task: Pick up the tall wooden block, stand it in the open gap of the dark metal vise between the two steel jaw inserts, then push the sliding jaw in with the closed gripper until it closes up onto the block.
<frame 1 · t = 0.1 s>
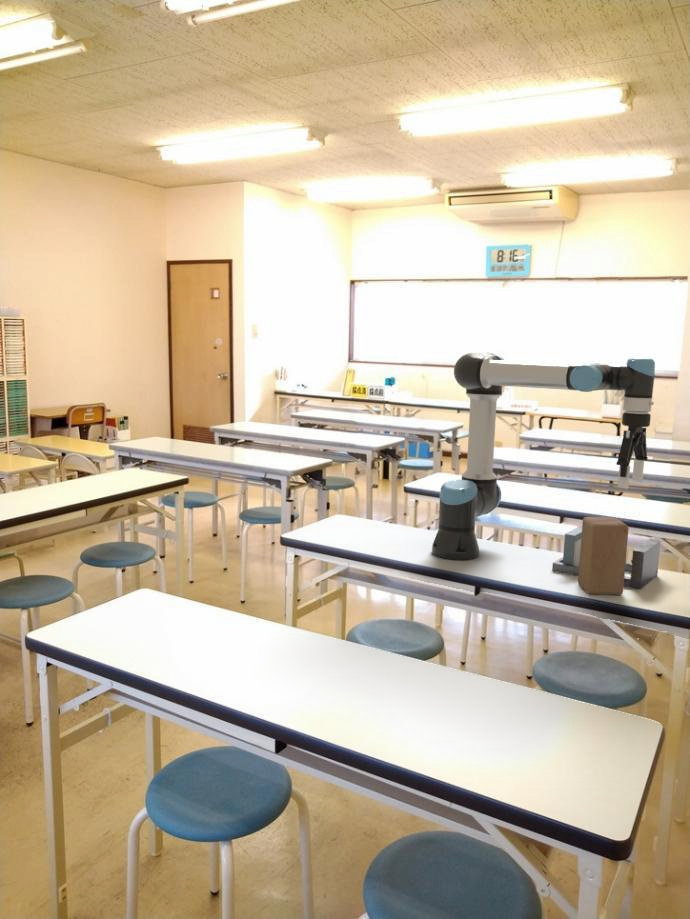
hand: (630, 484, 210), 28 cm above the table, fingers open, 13 cm apart
vise bed: (604, 573, 218), on the table
wooden block: (599, 590, 203), on the table
jaw: (576, 548, 222), point 6 cm above the table, slide at 0.0 cm
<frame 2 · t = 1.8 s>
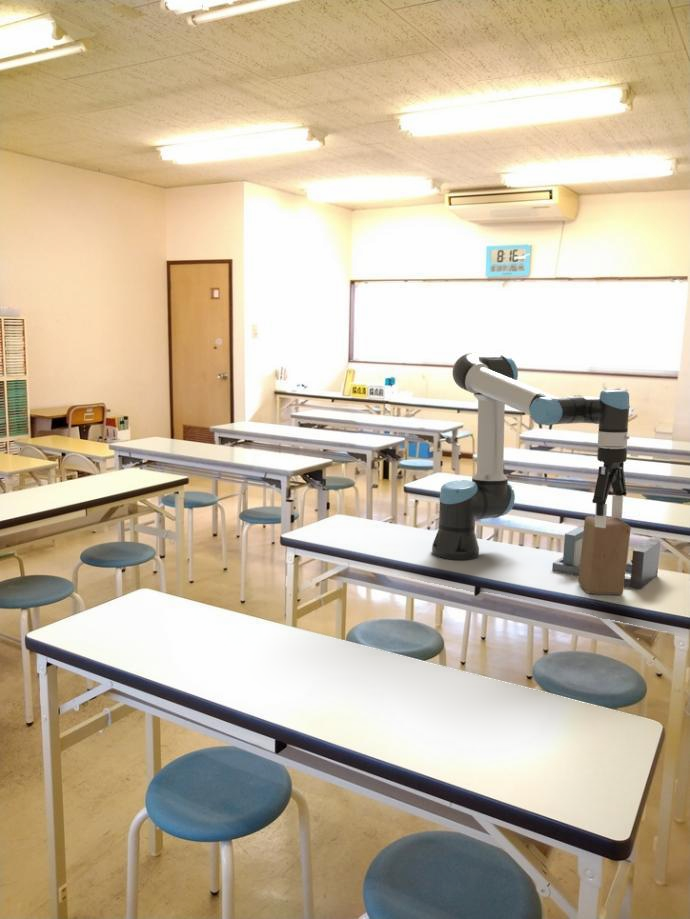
hand: (608, 523, 199), 19 cm above the table, fingers open, 13 cm apart
wooden block: (599, 590, 203), on the table, touching gripper
everything else where it was.
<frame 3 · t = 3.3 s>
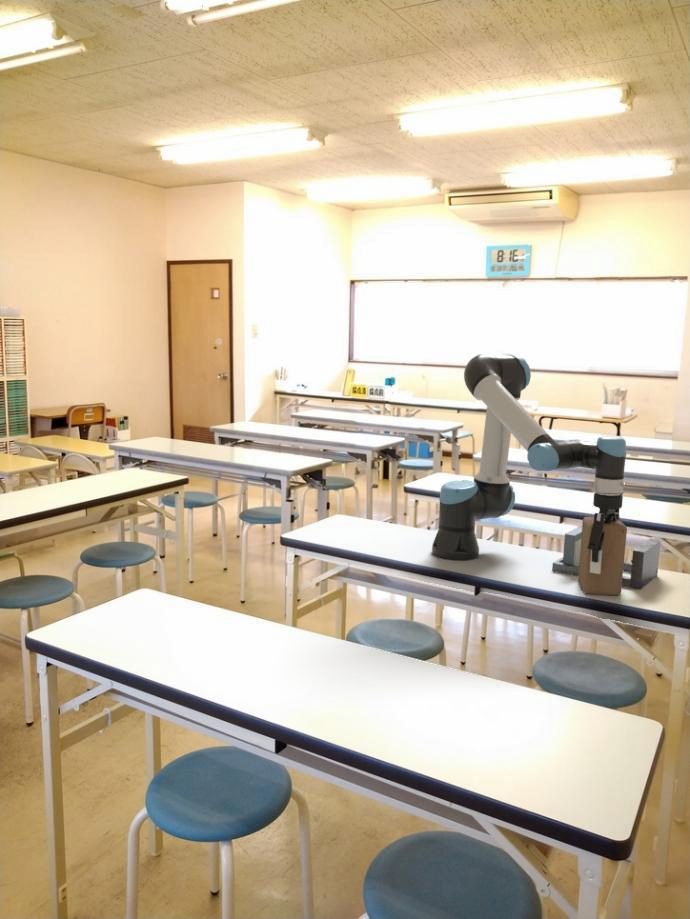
hand: (603, 567, 201), 7 cm above the table, fingers open, 13 cm apart
wooden block: (598, 590, 203), on the table, touching hand
everything else where it was.
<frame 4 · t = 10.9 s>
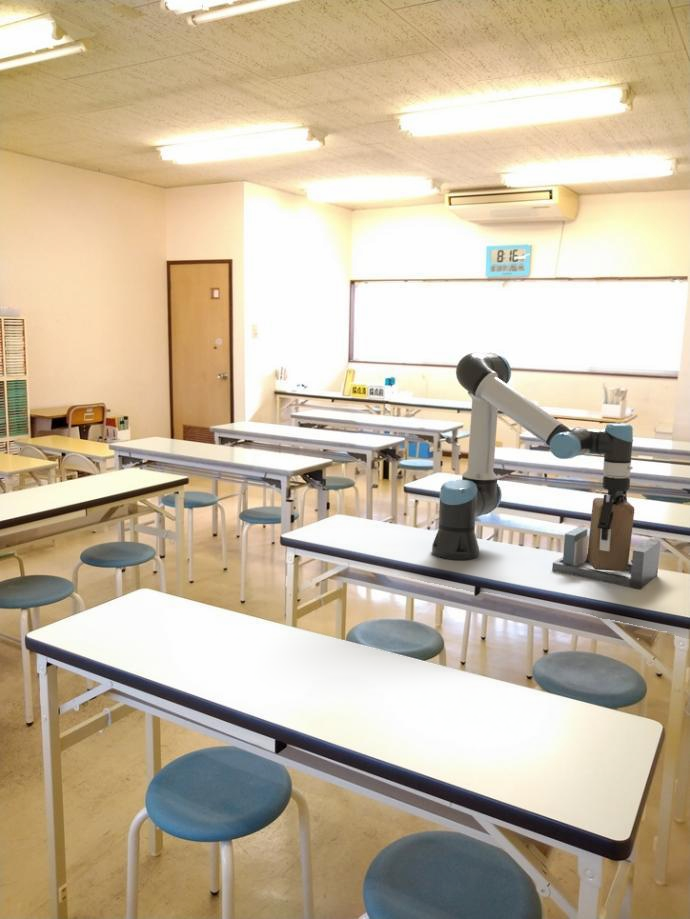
hand: (612, 546, 215), 9 cm above the table, fingers open, 13 cm apart
wooden block: (606, 566, 217), point 2 cm above the table, touching gripper, hand, vise bed
everything else where it was.
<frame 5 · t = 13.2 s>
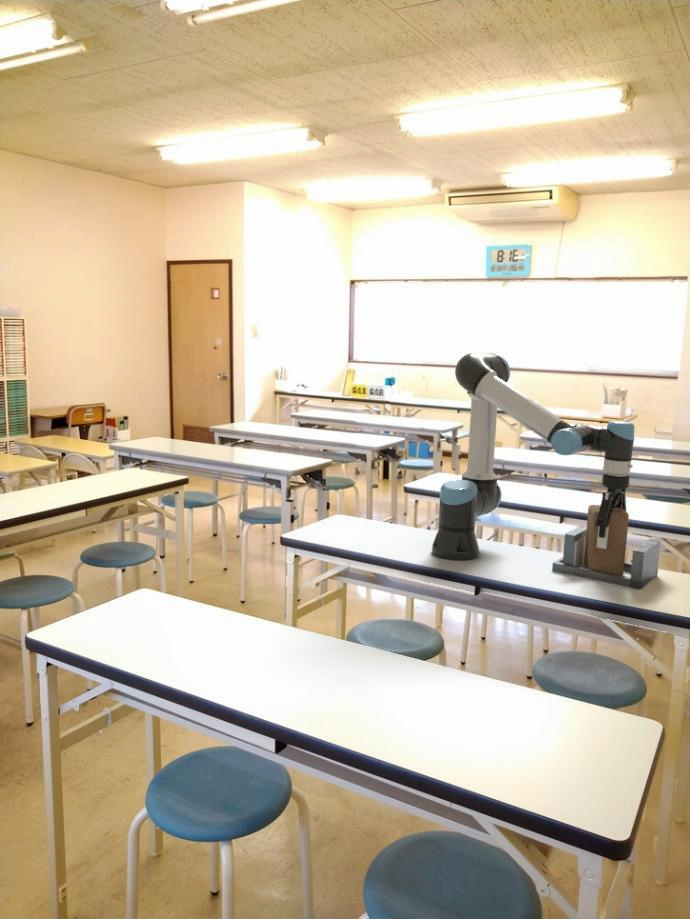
hand: (609, 543, 216), 9 cm above the table, fingers open, 13 cm apart
wooden block: (602, 573, 218), resting in vise bed
everything else where it was.
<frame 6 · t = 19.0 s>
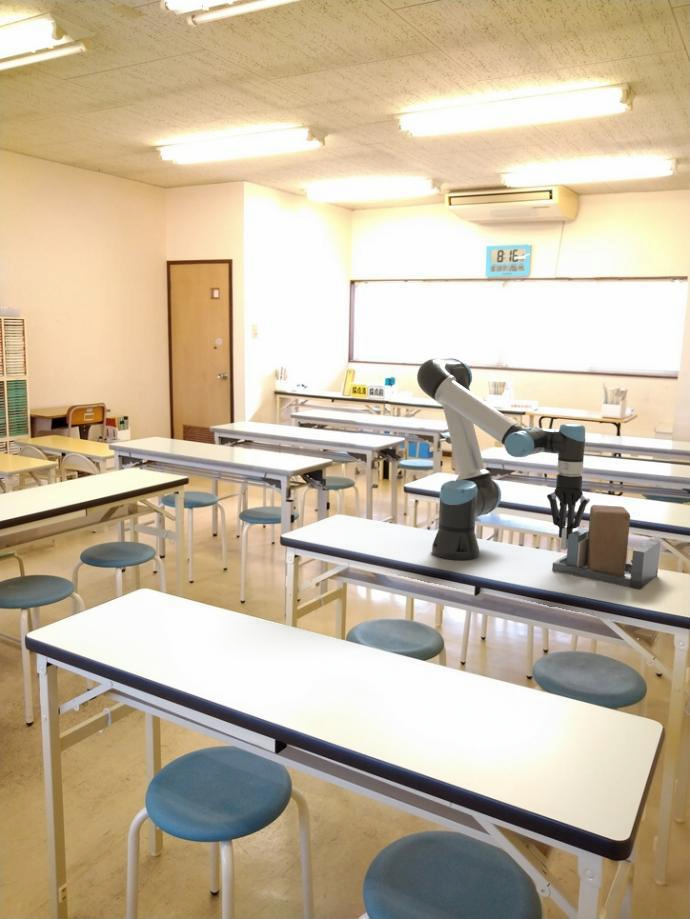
hand: (564, 548, 225), 5 cm above the table, fingers closed
wooden block: (604, 573, 218), resting in vise bed, touching jaw
jaw: (579, 549, 222), point 6 cm above the table, slide at 1.1 cm, touching gripper, wooden block
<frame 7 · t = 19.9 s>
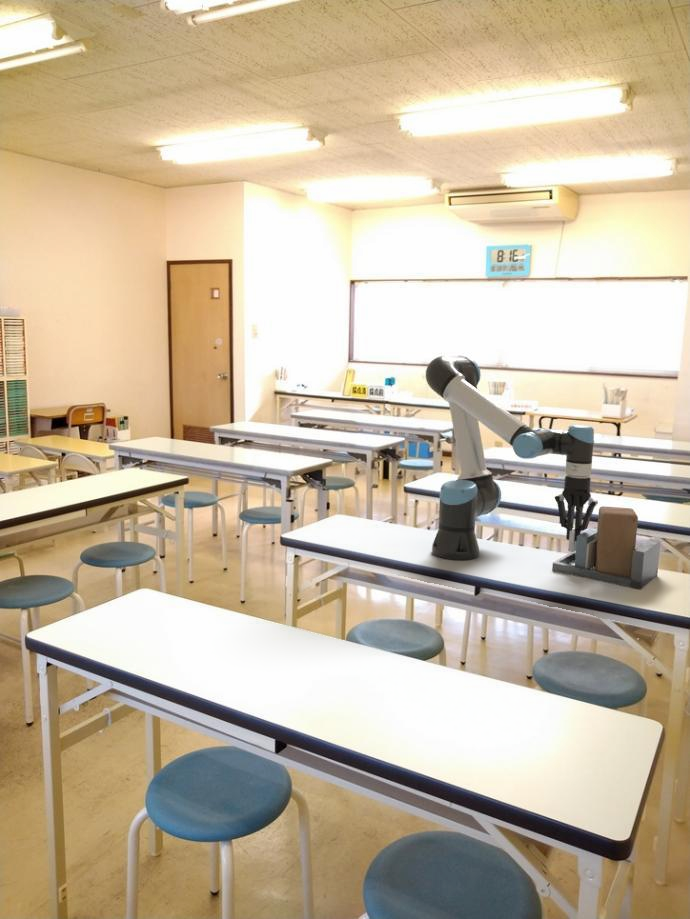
hand: (572, 550, 223), 5 cm above the table, fingers closed
wooden block: (612, 575, 216), resting in vise bed
jaw: (587, 551, 220), point 6 cm above the table, slide at 3.7 cm, touching gripper
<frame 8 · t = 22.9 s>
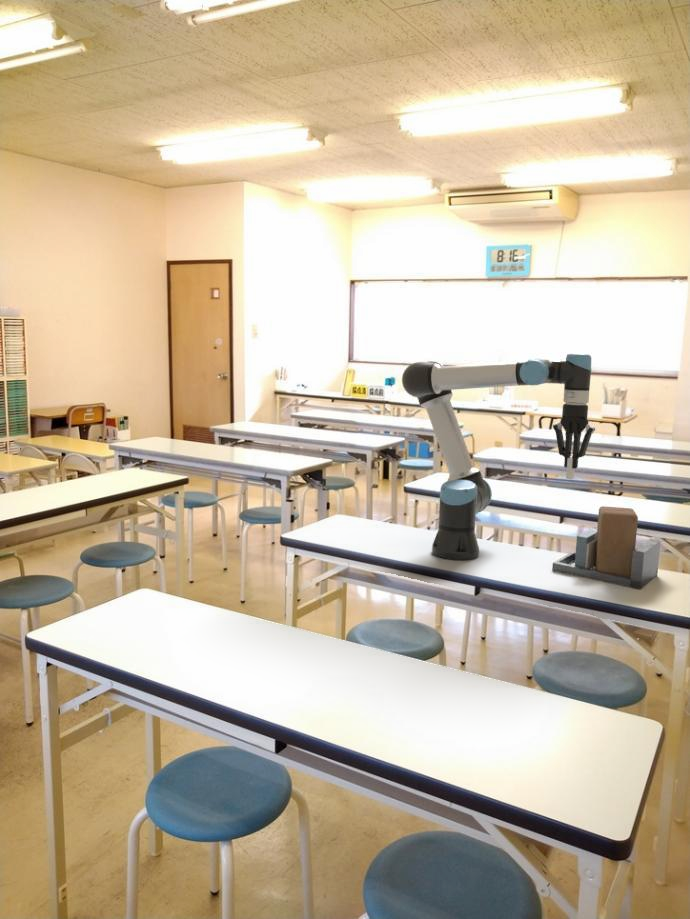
hand: (569, 478, 227), 26 cm above the table, fingers closed
jaw: (587, 551, 220), point 6 cm above the table, slide at 3.7 cm
everything else where it was.
at the end: wooden block inside the target area (1.0 cm from its centre), resting in vise bed; wooden block tilted 0°; jaw slide at 3.7 cm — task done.
